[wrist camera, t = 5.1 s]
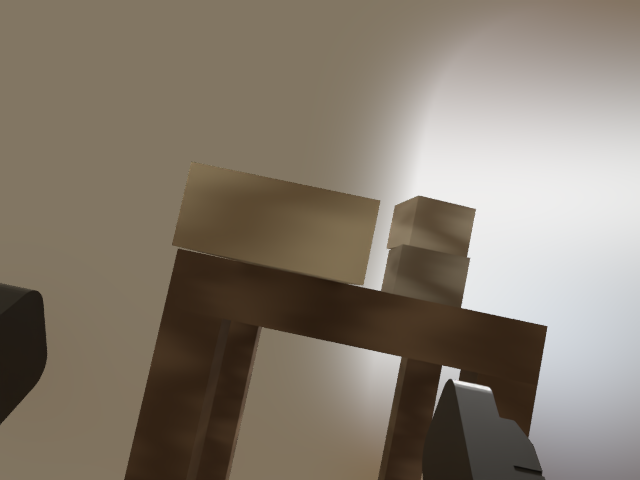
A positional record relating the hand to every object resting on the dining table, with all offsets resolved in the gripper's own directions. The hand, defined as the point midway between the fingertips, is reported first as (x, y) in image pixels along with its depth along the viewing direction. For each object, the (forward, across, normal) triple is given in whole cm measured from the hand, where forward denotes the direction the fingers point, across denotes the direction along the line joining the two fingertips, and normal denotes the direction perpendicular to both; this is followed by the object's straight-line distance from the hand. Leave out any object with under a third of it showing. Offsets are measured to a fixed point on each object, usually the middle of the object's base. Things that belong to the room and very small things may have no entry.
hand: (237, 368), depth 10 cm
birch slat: (+13, 0, +5) cm, 14 cm away
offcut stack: (+20, -8, +10) cm, 24 cm away
